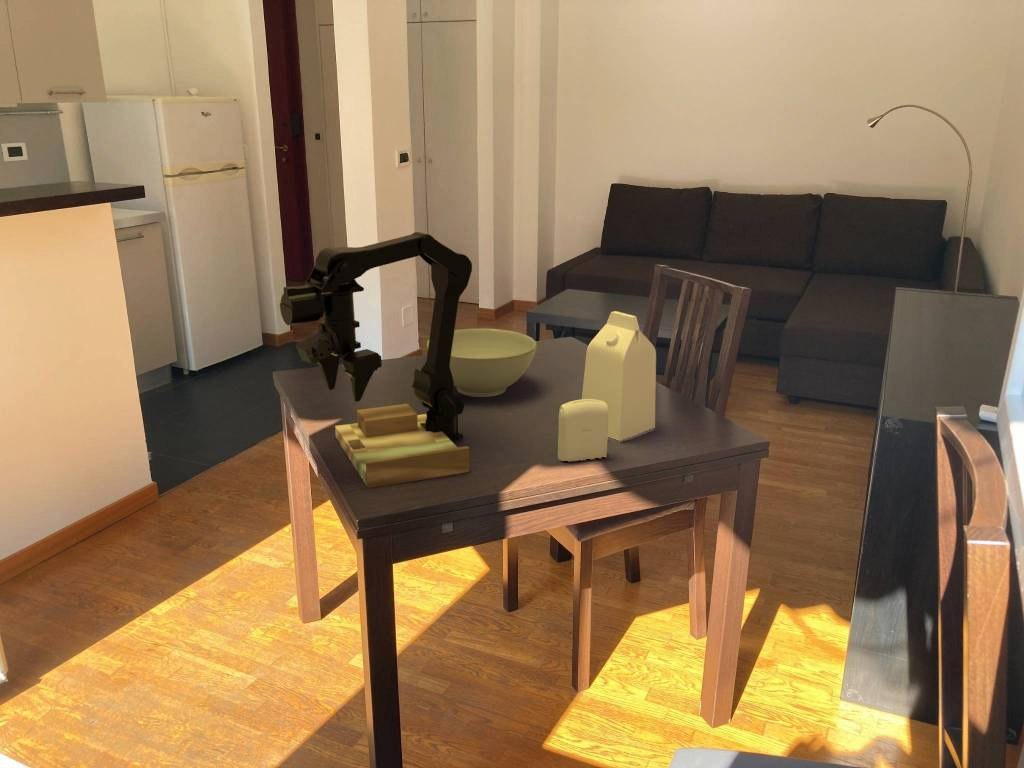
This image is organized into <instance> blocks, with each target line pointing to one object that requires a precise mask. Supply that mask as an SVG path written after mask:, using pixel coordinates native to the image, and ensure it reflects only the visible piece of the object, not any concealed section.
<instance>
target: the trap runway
mask: <svg viewBox="0 0 1024 768" xmlns="http://www.w3.org/2000/svg"><path fill="white" fill-rule="evenodd" d="M417 419H418V430H415V431H407V432H400V433H393V434H386V435H379V436H371V437H366V436H365V435H364V434H363V432H362V431H361V429H360V428H359V427H358V422H354V423H349V424H348V423H347V424H340V425H334V429H335V438H336V440H337V441H339V442H338V443H339V445H340V446H341V448H342V449H343V452H344V453H345V455H346V456H347V457H348V459H349V460H350V462H351V464H352V466H353V467H354V468H355V470H356V471H357V473H358V475H359V477H360V478H361V480H362V479H363V480H362V481H363V483H364V485H365V486H366V488H367V489H371V487H372V488H376V487H377V488H378V487H384V486H391V485H396V484H401V483H408V482H415V481H416V482H417V481H421V480H427V479H434V478H439V477H444V476H451V475H458V474H464V473H469V472H470V447H469V446H467V445H466V446H465V445H464V446H459V447H458V446H457V445H456V444H455V443H454V442H453V441H451V440H450V439H449V438H448V437H447V436H446V435H445V434H444V433H443V432H436V433H433V432H430V431H426V419H427V413H423V414H417Z"/></svg>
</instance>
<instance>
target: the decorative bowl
mask: <svg viewBox="0 0 1024 768" xmlns="http://www.w3.org/2000/svg"><path fill="white" fill-rule="evenodd" d="M537 345H538V344H537V341H536V340H535V339H534V338H533V337H531V336H529V335H527V334H524V333H521V332H517V331H513V330H507V329H498V328H464V329H463V328H462V329H461V328H460V329H455V331H454V338H453V345H452V352H451V359H450V369H451V373H452V376H453V380H454V388H456V390H457V392H458V393H459V394H462V395H465V396H468V397H474V398H489V397H490V398H491V397H495V396H499V395H501V394H504V393H506V391H507V388H508V387H511V385H513V384H514V383H516V382H517V381H518V380H519V379H520V378H521V377H522V376H523V375H524V374H525V373H526V371H527V370H528V368H529V367H530V365H531V364H532V361H533V358H534V356H535V354H536V350H537ZM428 346H429V339H428V340H427V342H426V348H427V350H428Z"/></svg>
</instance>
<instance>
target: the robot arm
mask: <svg viewBox="0 0 1024 768" xmlns="http://www.w3.org/2000/svg"><path fill="white" fill-rule="evenodd" d="M416 257H420V259H422V261H424V262H425V263H427V264H428V265H429V266H430V279H431V283H432V286H433V289H434V295H435V296H434V302H433V311H432V317H431V325H430V332H429V333H430V334H429V339H428V340H429V346H428V349H427V355H426V362H425V363H424V364H423V366H422V368H421V369H419V368H415V370H414V373H413V375H414V378H413V379H414V380H413V383H412V385H411V388H413V390H414V391H413V392H414V395H415V396H416V398H417V399H418V400H419V401H420V403H421V404H422V406H423V407H424V408H426V409H428V410H427V411H426V415H427V419H426V431H430V432H433V433H436V432H443V433H444V434H445V435H446V436H447V437H448V438H449V439H450V440H451V441H452V442H453V441H456V440H459V439H462V438H463V437H464V434H463V433H460V432H459V415H462V414H463V411H464V409H465V405H466V404H465V403H464V402H463V401H462V400H461V399H460V398H458V397H457V396H456V395H455V389H454V388H455V386H454V380H453V376H452V373H451V369H450V359H451V352H452V345H453V338H454V331H455V330H456V323H457V316H458V315H457V314H458V309H459V303H460V302H459V300H460V298H461V296H462V295H463V293H464V291H465V290H466V288H467V287H468V286H469V282H470V279H471V275H472V272H473V263H472V261H471V260H470V258H469V257H468V256H467V255H465V254H463V253H459V252H456V251H454V250H452V249H451V248H449V247H447V246H446V245H444V244H443V243H441V242H439V241H438V240H437V239H435V238H434V236H433V235H431V234H428V233H424V232H421V231H416V232H413V233H411V234H408V235H404V236H399V237H397V238H392V239H388V240H385V241H381V242H376V243H372V244H368V245H365V246H359V247H358V246H357V247H356V246H355V247H353V246H352V247H351V246H339V247H326V248H324V249H321V250H320V251H319V252H318V255H317V256H316V259H315V261H314V262H315V263H314V266H313V268H312V270H311V271H310V273H309V275H308V276H307V278H306V280H305V282H304V285H299V286H284V287H283V288H282V289H283V294H282V295H281V298H280V302H279V309H280V310H279V311H280V315H281V317H282V320H283V322H284V323H285V325H287V326H292V325H299V324H306V323H310V322H318V321H320V319H321V318H323V321H320V322H319V324H318V329H317V331H316V332H314V333H313V334H310V335H309V336H307V337H305V338H303V339H302V340H301V341H298V343H296V344H295V347H296V350H297V352H298V355H299V356H300V358H301V361H302V362H307V363H309V364H310V365H315V364H317V365H318V367H319V369H320V372H321V373H322V377H323V380H324V381H325V383H326V387H327V389H328V390H330V391H332V390H335V386H336V385H337V384H336V383H337V378H338V372H339V366H340V358H341V359H342V364H343V365H342V366H343V367H344V370H343V372H344V373H345V374H346V375H347V376H348V377H349V379H350V383H351V385H350V386H351V390H352V395H353V396H352V397H353V399H354V402H360V401H361V400H362V398H363V396H364V394H365V391H366V389H367V387H368V384H369V382H370V380H371V379H372V377H373V375H374V373H375V371H378V369H379V368H382V366H383V365H382V364H383V361H382V356H381V354H379V353H378V352H376V351H374V350H371V349H368V348H365V349H361V350H358V349H360V348H362V345H361V342H360V341H357V334H356V329H357V328H360V321H359V320H356V319H355V305H354V304H355V303H354V293H359V292H364V290H365V288H364V286H361V285H360V284H359V283H358V282H357V281H356V279H358V278H361V276H363V275H364V274H365V273H366V272H368V271H370V270H372V269H375V268H379V267H382V266H386V265H389V264H393V263H397V262H401V261H404V260H408V259H413V258H416ZM324 279H326V280H324ZM356 349H357V351H356Z"/></svg>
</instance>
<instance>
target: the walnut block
mask: <svg viewBox="0 0 1024 768" xmlns="http://www.w3.org/2000/svg"><path fill="white" fill-rule="evenodd" d="M356 415H357V423H358V427H359V428H360V429H361V431H362V432H363V434H364V435H365V436H366V437H371V436H379V435H386V434H393V433H400V432H407V431H415V430H418V419H417V415H418V414H417V412H416V411H415V410H414V409H413V408H412V407H411V406H410V405H409V403H403V404H395V405H387V406H379V407H372V408H371V407H370V408H365V409H363V408H362V409H357V410H356Z"/></svg>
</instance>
